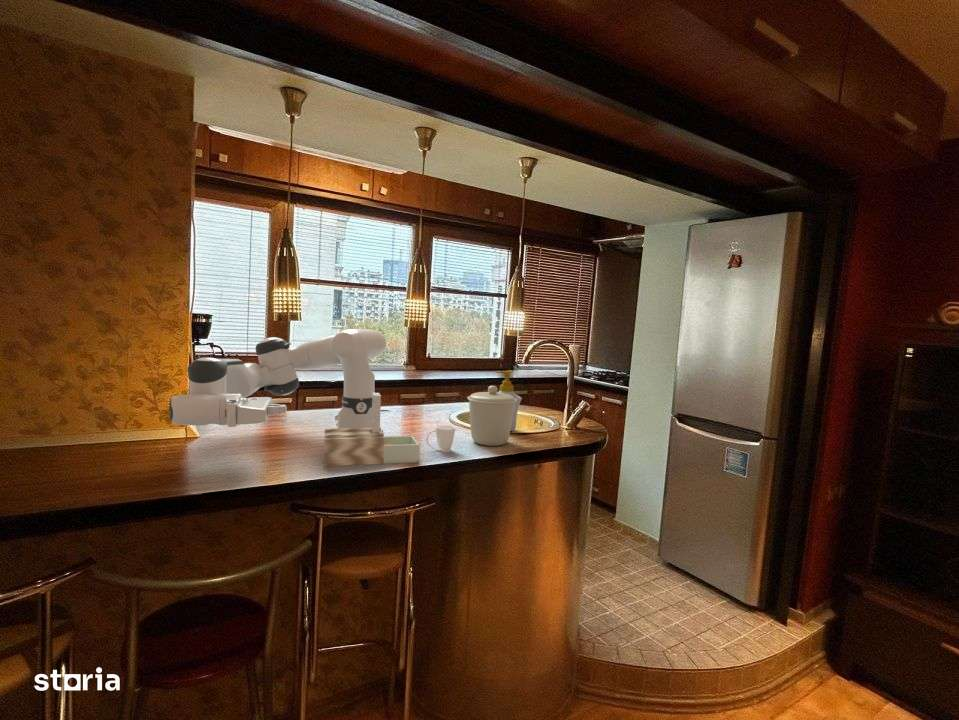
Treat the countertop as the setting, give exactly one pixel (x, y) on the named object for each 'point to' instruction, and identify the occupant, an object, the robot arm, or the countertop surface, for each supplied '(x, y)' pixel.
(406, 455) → the pale green open box
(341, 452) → the chevron patterned box
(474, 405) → the canister
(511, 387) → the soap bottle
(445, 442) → the cup
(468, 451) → the countertop surface
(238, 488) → the countertop surface
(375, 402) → the plunger paddle
